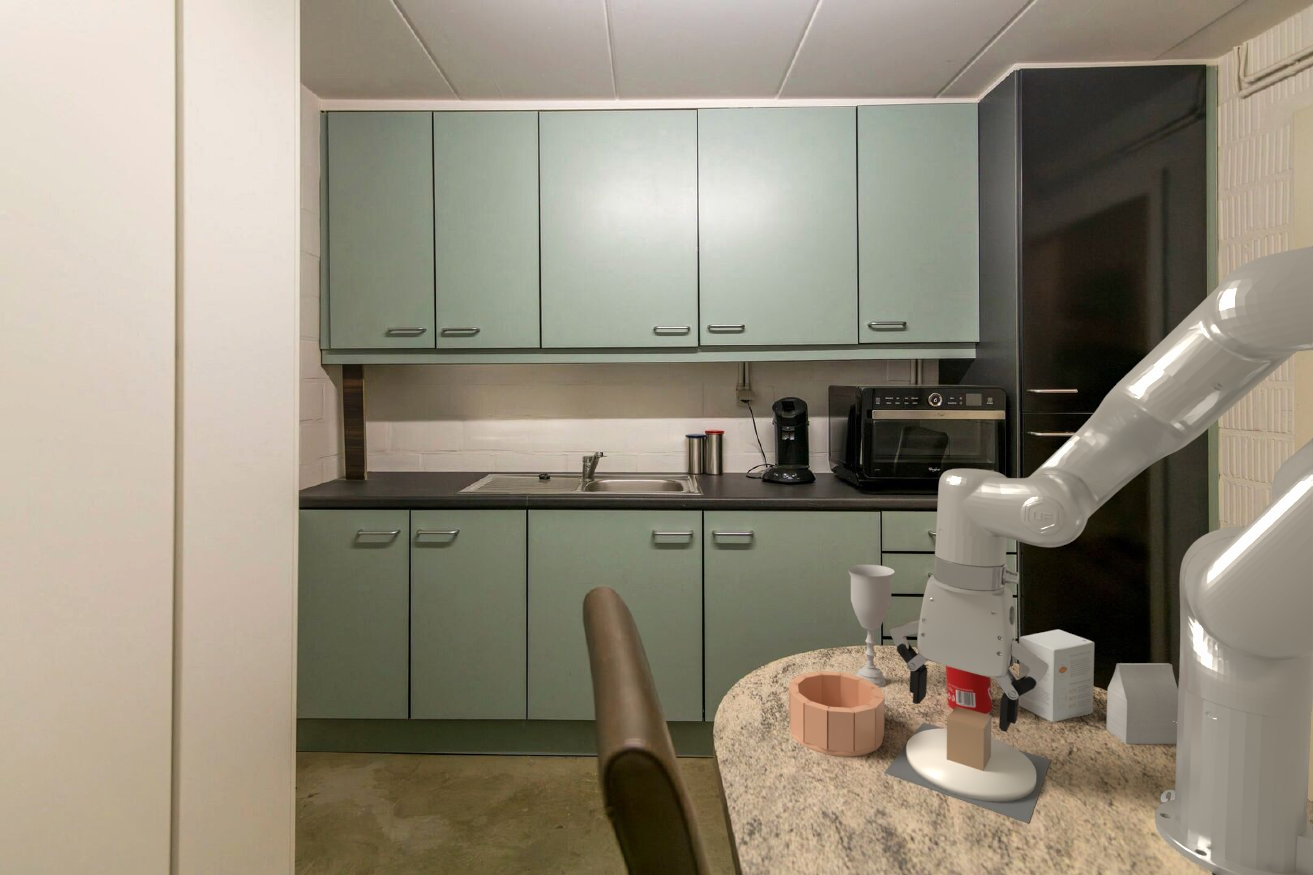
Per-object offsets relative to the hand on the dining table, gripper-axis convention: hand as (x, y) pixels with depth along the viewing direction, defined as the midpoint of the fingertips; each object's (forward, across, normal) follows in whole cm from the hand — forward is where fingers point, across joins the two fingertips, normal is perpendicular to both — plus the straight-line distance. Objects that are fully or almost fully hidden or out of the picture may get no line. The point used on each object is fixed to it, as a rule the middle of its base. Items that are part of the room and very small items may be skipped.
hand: (960, 712), depth 78 cm
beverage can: (+7, +3, -16) cm, 18 cm away
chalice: (+7, +17, -16) cm, 24 cm away
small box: (+7, -7, -23) cm, 25 cm away
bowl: (+7, +15, +2) cm, 17 cm away
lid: (+6, -1, 0) cm, 6 cm away
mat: (+7, -1, 0) cm, 7 cm away
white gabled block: (+6, -17, -21) cm, 28 cm away
